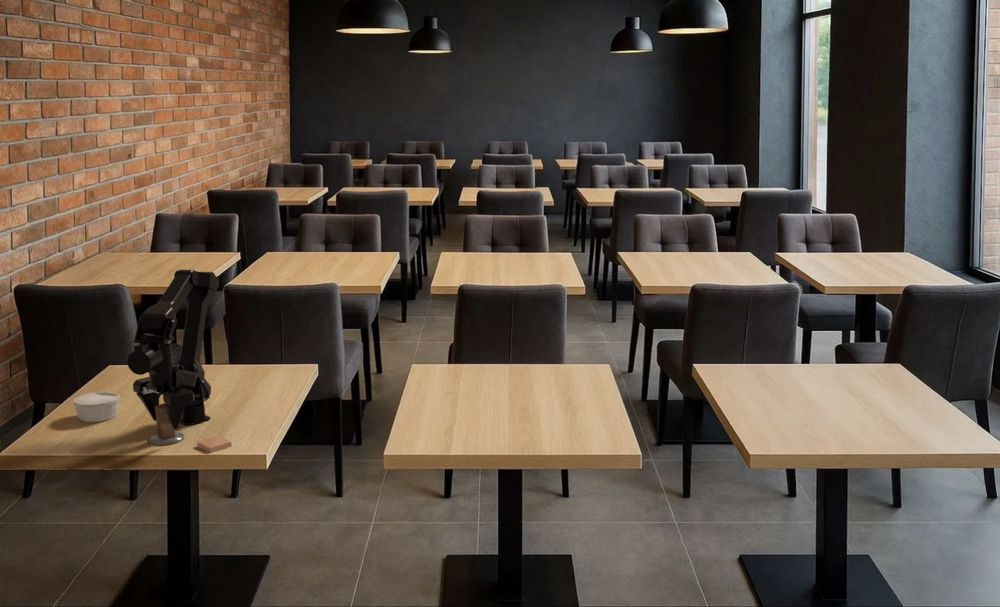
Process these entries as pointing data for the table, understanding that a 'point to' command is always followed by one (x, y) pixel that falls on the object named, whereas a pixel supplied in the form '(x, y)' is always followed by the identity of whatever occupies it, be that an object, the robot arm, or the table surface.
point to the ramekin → (97, 406)
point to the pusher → (163, 423)
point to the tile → (214, 444)
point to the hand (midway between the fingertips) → (165, 424)
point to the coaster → (176, 439)
